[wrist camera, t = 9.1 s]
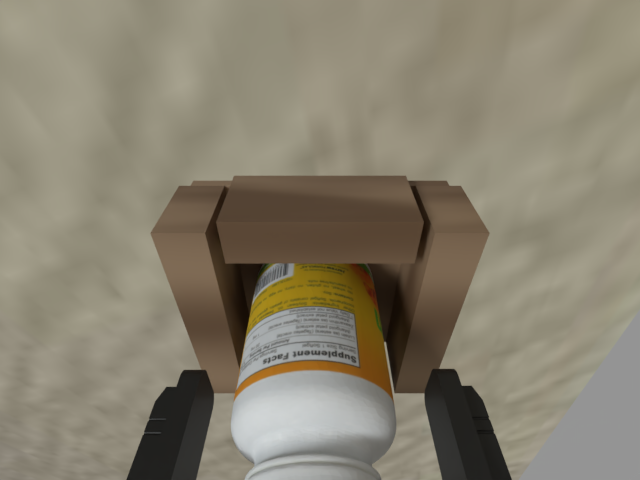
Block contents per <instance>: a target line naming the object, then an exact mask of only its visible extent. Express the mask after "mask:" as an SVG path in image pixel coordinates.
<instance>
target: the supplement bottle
mask: <svg viewBox="0 0 640 480" xmlns="http://www.w3.org/2000/svg"><path fill="white" fill-rule="evenodd" d="M231 433H232V437H233V440H234V443H235V445H236V447H237V449H238V450H239V451H240V453H241V454H242V455H243V456H244V457H245V458H246V459H247V460H249V461H250V462H252V463H253V464H254V467H253V468H252V469H251V470H250V471H249V472H248V473H247V475H246V477H245V480H382V479H381V476H380V474H379V473H378V471H377V470H375V469H374V468H373V467H372V464H373V463H375V462H376V461H378V460H379V459H380V458H381V457H382V456H383V455H385V453H386V452H387V451H388V450H389V448H390V446H391V445H392V443H393V440H394V437H395V434H396V414H395V406H394V400H393V394H392V387H391V381H390V375H389V370H388V364H387V358H386V352H385V345H384V339H383V333H382V327H381V321H380V316H379V310H378V304H377V298H376V292H375V287H374V281H373V277H372V273H371V270H370V268H369V266H368V264H367V263H263V264H262V266H261V268H260V271H259V273H258V277H257V281H256V285H255V290H254V295H253V301H252V306H251V312H250V317H249V322H248V328H247V333H246V338H245V343H244V349H243V354H242V359H241V365H240V370H239V375H238V380H237V386H236V390H235V396H234V402H233V410H232V417H231Z"/></svg>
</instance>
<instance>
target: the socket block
mask: <svg viewBox="0 0 640 480" xmlns="http://www.w3.org/2000/svg"><path fill="white" fill-rule="evenodd" d="M150 234H151V236H152V239H153V242H154V244H155V247H156V250H157V252H158V255H159V258H160V260H161V263H162V266H163V268H164V271H165V274H166V277H167V279H168V282H169V285H170V287H171V290H172V293H173V295H174V298H175V301H176V303H177V306H178V309H179V311H180V314H181V317H182V319H183V322H184V325H185V327H186V330H187V333H188V335H189V338H190V341H191V343H192V346H193V349H194V352H195V354H196V357H197V360H198V362H199V365H200V368H201V370H206V371H207V374H208V377H209V379H210V382H211V385H212V388H213V391H214V393H235V390H236V386H237V380H238V375H239V370H240V365H241V359H242V354H243V349H244V343H245V338H246V333H247V328H248V322H249V317H250V312H251V306H252V301H253V295H254V290H255V285H256V281H257V277H258V273H259V271H260V268H261V266H262V264H263V263H367V264H368V266H369V268H370V270H371V273H372V277H373V281H374V287H375V292H376V298H377V304H378V310H379V316H380V321H381V327H382V333H383V339H384V342H386V346H387V352H388V358H389V364H390V370H391V376H392V381H393V387H394V393H425V388H426V385H427V382H428V380H429V377H430V374H431V371H432V369H439V368H440V365H441V362H442V360H443V357H444V354H445V352H446V349H447V346H448V344H449V341H450V338H451V336H452V333H453V330H454V327H455V325H456V322H457V319H458V317H459V314H460V311H461V309H462V306H463V303H464V301H465V298H466V295H467V293H468V290H469V287H470V285H471V282H472V279H473V277H474V274H475V271H476V269H477V266H478V263H479V261H480V258H481V255H482V252H483V250H484V247H485V244H486V242H487V239H488V236H489V234H490V233H489V231H488V230H487V228H486V226H485V225H484V223H483V221H482V220H481V218H480V216H479V215H478V213H477V211H476V210H475V208H474V206H473V205H472V203H471V202H470V200H469V198H468V197H467V195H466V193H465V192H464V190H463V188H462V187H461V186H449V184H448V182H447V181H408V180H407V177H406V176H234V177H233V180H232V181H193V182H192V184H191V186H179V187H178V188H177V190H176V192H175V193H174V195H173V197H172V198H171V200H170V202H169V203H168V205H167V207H166V208H165V210H164V211H163V213H162V215H161V216H160V218H159V220H158V221H157V223H156V225H155V226H154V228H153V230H152V231H151V233H150Z"/></svg>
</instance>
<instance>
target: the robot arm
mask: <svg viewBox="0 0 640 480" xmlns="http://www.w3.org/2000/svg"><path fill="white" fill-rule="evenodd" d="M424 400H425V407H426V412H427V416H428V420H429V425H430V429H431V433H432V437H433V442H434V446H435V450H436V455H437V459H438V463H439V468H440V472H441V476H442V480H512V478H511V476H510V473H509V470H508V467H507V465H506V462H505V459H504V456H503V454H502V451H501V448H500V445H499V443H498V440H497V437H496V435H495V434H494V429H493V426H492V424H491V421H490V420H489V415H488V413H487V410H486V407H485V404H484V402H483V400H482V398H481V397H480V396H479V394H478V393H477V392H476V391H475V389H474V388H473V387H472V386H462V385H461V382H460V379H459V376H458V373H457V371H456V370H455V369H432V371H431V374H430V377H429V380H428V382H427V385H426V388H425V393H424ZM213 405H214V391H213V388H212V385H211V382H210V379H209V377H208V374H207V371H206V370H183V371H182V373H181V375H180V377H179V380H178V383H177V386H176V387H166V388H165V389H164V391H163V392H162V393H161V394H160V396H159V397H158V398H157V400H156V401H155V403H154V406H153V408H152V411H151V414H150V417H149V421H148V422H147V425H146V427H145V430H144V435H143V436H142V438H141V441H140V444H139V446H138V449H137V452H136V455H135V457H134V460H133V463H132V465H131V468H130V471H129V474H128V476H127V479H126V480H196V478H197V474H198V470H199V466H200V461H201V457H202V453H203V449H204V444H205V440H206V436H207V432H208V427H209V423H210V419H211V415H212V410H213Z"/></svg>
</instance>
